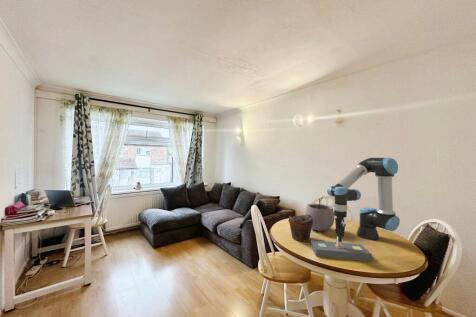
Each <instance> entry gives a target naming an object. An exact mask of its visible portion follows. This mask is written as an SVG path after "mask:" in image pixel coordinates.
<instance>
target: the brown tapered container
mask: <svg viewBox="0 0 476 317" xmlns="http://www.w3.org/2000/svg"><path fill="white" fill-rule="evenodd" d="M287 222H288V223H289V227H290V232H291V238H292V239H293V240H295V241H298V242H307V241H309V240H310V237H311V233H312V232H311V231H312V225H313V218H312V216H311V215H305V214H301V215H296V216H294V215H292V216H291V215H289V217H288V220H287Z"/></svg>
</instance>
